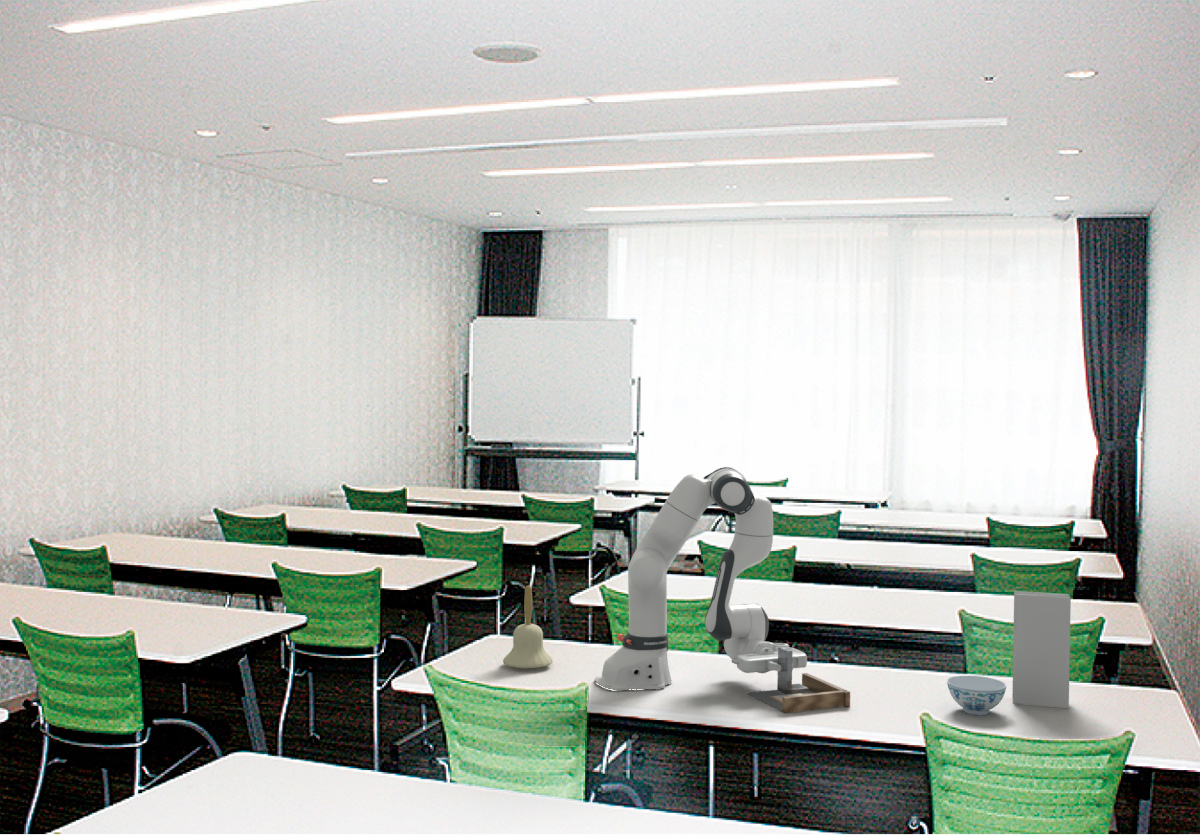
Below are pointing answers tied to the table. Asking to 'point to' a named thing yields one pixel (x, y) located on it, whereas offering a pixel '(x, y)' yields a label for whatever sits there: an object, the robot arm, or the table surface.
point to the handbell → (528, 642)
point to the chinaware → (976, 693)
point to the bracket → (787, 674)
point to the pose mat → (773, 697)
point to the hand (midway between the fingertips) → (786, 668)
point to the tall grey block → (1041, 649)
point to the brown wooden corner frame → (816, 696)
